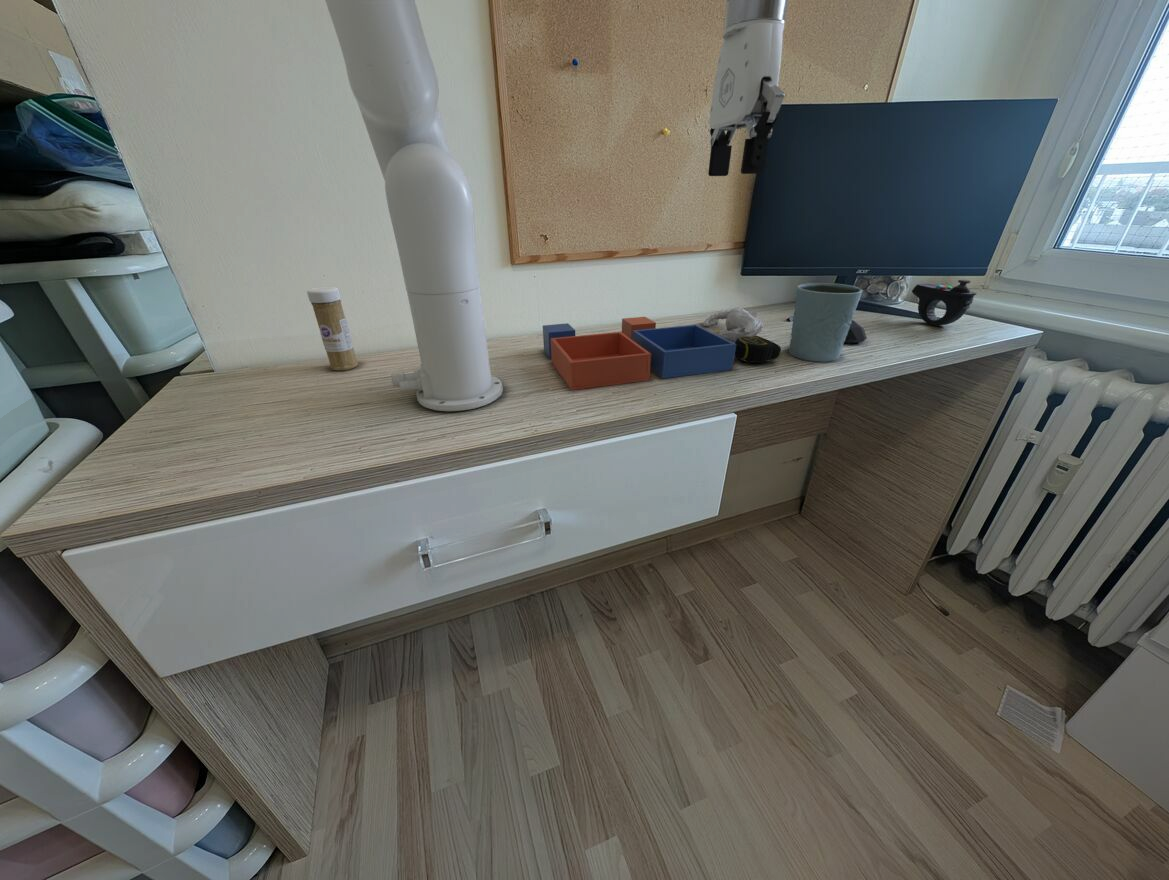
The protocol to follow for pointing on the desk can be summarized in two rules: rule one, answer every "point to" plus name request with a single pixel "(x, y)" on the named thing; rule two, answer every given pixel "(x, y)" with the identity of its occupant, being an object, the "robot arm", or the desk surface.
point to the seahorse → (736, 323)
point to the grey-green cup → (822, 320)
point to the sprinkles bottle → (333, 327)
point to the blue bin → (685, 350)
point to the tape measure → (756, 349)
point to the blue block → (555, 335)
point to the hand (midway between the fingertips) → (733, 174)
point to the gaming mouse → (855, 333)
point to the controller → (952, 297)
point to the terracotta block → (636, 325)
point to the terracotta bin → (599, 360)
